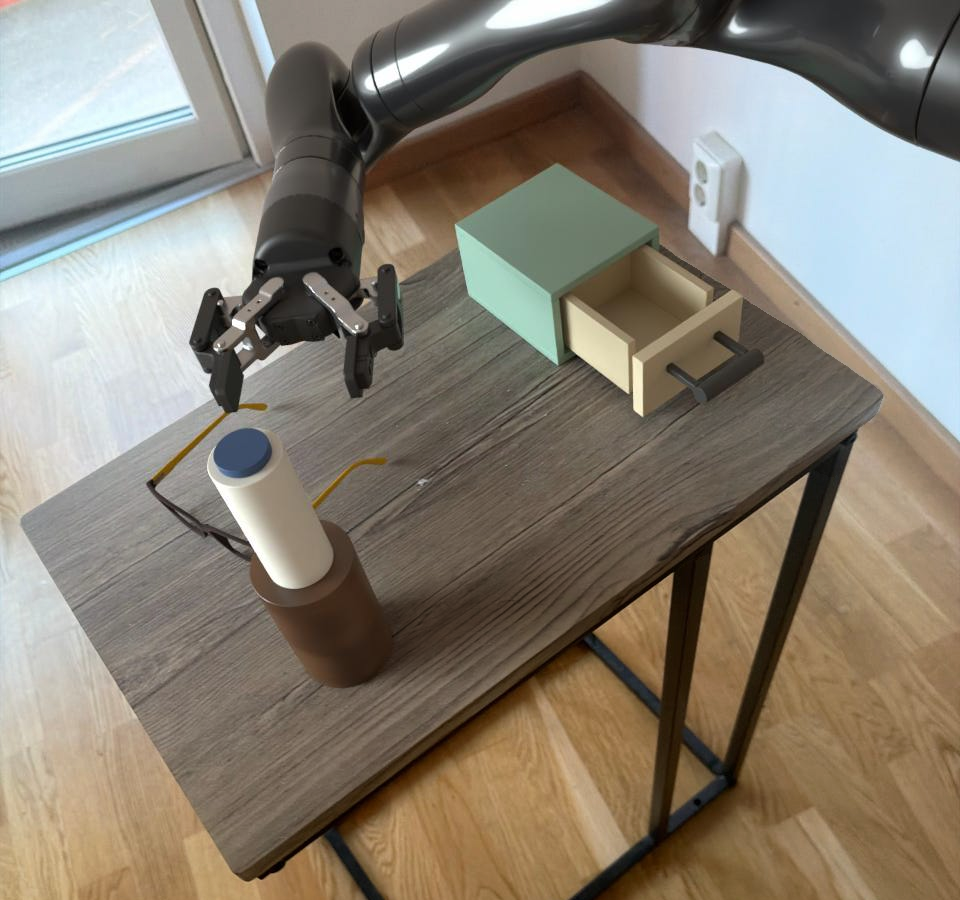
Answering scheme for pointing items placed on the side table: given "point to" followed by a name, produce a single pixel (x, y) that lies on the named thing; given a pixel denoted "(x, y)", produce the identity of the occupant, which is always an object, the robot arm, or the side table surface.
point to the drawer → (656, 330)
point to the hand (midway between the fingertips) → (288, 396)
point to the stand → (330, 617)
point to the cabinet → (545, 251)
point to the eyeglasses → (213, 531)
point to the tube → (271, 506)
